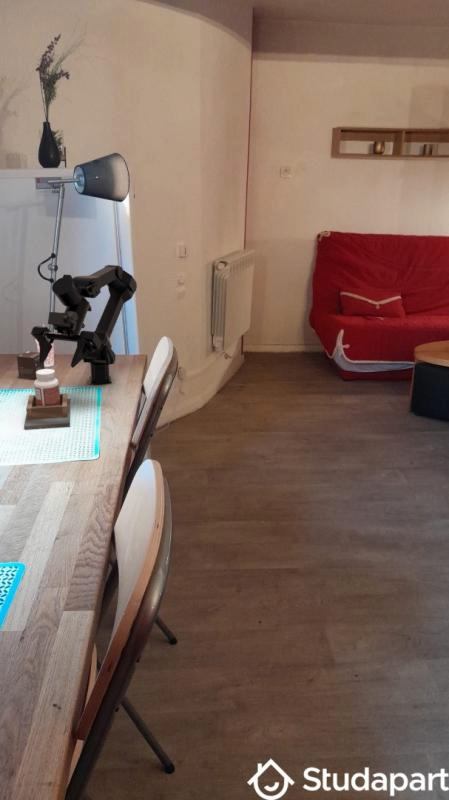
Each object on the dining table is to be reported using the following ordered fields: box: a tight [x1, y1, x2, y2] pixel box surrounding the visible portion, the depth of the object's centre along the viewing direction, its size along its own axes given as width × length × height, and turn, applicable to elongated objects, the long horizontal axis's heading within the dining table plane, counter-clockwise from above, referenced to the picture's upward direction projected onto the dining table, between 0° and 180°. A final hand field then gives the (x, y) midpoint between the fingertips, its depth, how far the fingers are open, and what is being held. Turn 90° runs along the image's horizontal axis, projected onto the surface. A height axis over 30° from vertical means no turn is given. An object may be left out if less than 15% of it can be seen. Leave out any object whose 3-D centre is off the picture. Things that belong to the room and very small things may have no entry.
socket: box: [23, 392, 71, 431], centre depth 149 cm, size 18×11×4 cm, turn 14°
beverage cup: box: [34, 323, 55, 368], centre depth 188 cm, size 6×6×14 cm
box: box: [16, 351, 46, 381], centre depth 178 cm, size 6×6×7 cm
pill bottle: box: [33, 368, 61, 407], centre depth 147 cm, size 6×6×11 cm
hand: (56, 365), depth 150 cm, fingers open, 9 cm apart
